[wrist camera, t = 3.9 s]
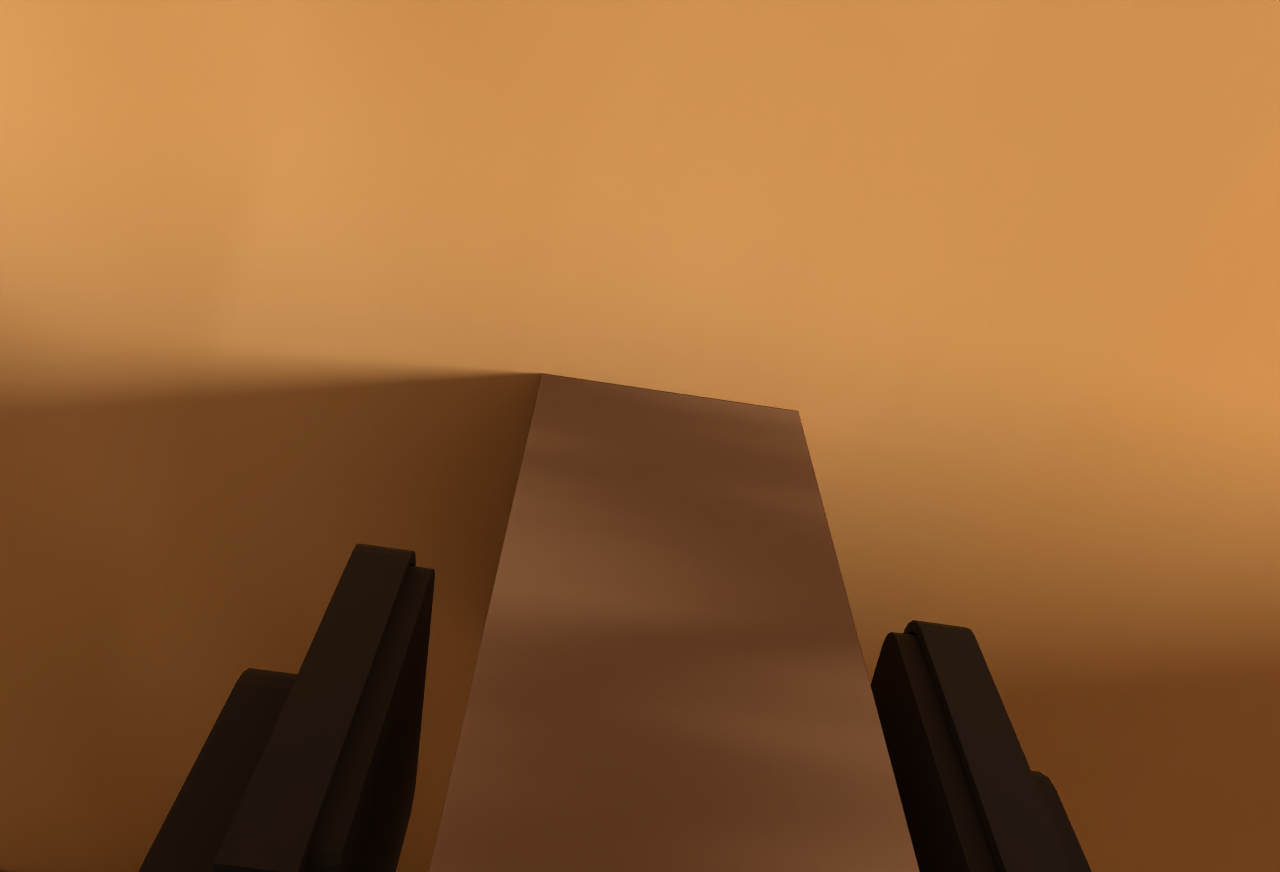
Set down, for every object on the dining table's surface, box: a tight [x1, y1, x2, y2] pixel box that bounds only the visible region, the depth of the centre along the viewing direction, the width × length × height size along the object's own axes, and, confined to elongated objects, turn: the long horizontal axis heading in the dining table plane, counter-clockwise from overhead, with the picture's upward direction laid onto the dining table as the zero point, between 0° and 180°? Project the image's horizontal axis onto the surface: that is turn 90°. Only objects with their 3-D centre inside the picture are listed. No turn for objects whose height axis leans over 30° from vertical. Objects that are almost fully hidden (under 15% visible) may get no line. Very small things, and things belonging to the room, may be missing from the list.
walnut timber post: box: [429, 374, 919, 872], centre depth 10 cm, size 3×4×9 cm
